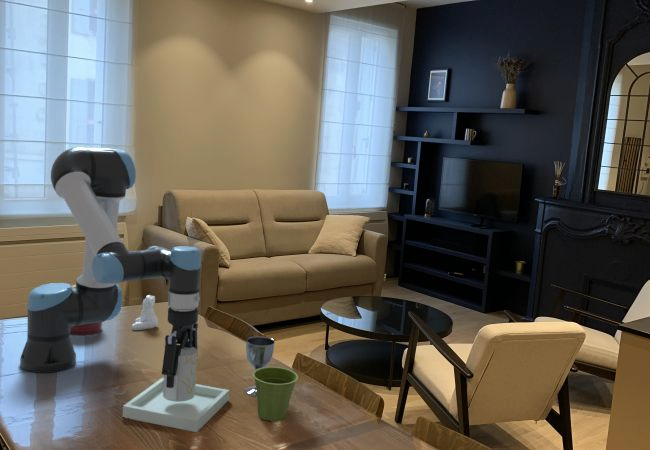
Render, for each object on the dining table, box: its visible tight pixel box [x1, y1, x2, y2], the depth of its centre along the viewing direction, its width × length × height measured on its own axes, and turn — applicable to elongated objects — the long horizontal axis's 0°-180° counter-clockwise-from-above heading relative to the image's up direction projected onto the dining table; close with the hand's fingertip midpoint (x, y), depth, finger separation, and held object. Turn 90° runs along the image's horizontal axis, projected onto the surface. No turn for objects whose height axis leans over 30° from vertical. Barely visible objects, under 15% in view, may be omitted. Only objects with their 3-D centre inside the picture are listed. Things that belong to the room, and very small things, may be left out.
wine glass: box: [243, 335, 276, 398], centre depth 177 cm, size 8×8×15 cm
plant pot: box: [252, 366, 299, 422], centre depth 163 cm, size 12×12×11 cm
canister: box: [70, 284, 103, 336], centre depth 216 cm, size 13×13×18 cm
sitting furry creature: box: [131, 294, 159, 331], centre depth 226 cm, size 10×9×12 cm
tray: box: [122, 377, 230, 433], centre depth 163 cm, size 20×20×3 cm
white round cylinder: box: [163, 347, 198, 402], centre depth 162 cm, size 8×8×12 cm
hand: (178, 392), depth 163 cm, fingers closed on white round cylinder, 8 cm apart
